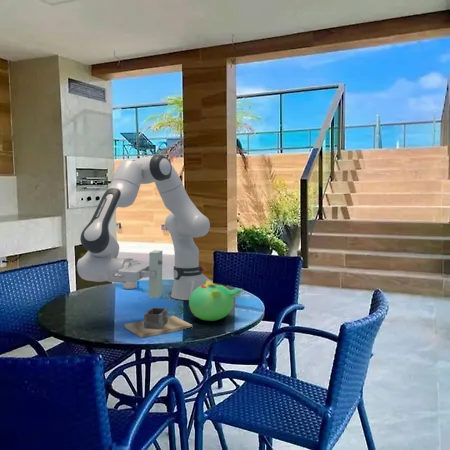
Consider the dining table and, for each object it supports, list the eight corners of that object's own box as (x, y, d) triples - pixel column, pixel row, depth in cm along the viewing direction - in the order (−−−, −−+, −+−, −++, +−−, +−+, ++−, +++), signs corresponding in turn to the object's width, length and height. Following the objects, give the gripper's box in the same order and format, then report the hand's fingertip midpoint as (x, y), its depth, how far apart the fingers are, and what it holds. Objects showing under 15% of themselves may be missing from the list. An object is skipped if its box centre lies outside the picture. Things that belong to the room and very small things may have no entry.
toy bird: (211, 311, 194) (211, 275, 192) (244, 319, 183) (244, 281, 182) (180, 320, 180) (180, 282, 178) (213, 329, 169) (214, 289, 168)
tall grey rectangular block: (153, 293, 172) (154, 250, 171) (165, 294, 172) (166, 250, 170) (148, 297, 166) (149, 252, 165) (161, 298, 166) (161, 253, 164)
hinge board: (173, 318, 182) (173, 302, 181) (192, 328, 170) (192, 311, 170) (124, 327, 170) (124, 310, 170) (141, 337, 159) (141, 319, 158)
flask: (133, 290, 229) (133, 269, 228) (119, 289, 230) (119, 269, 229) (139, 286, 236) (139, 267, 235) (125, 286, 237) (125, 266, 237)
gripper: (110, 266, 160) (149, 268, 158) (130, 257, 180) (165, 259, 178) (110, 285, 160) (149, 287, 158) (130, 274, 181) (165, 275, 179)
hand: (158, 272), depth 168 cm, fingers closed on tall grey rectangular block, 6 cm apart
